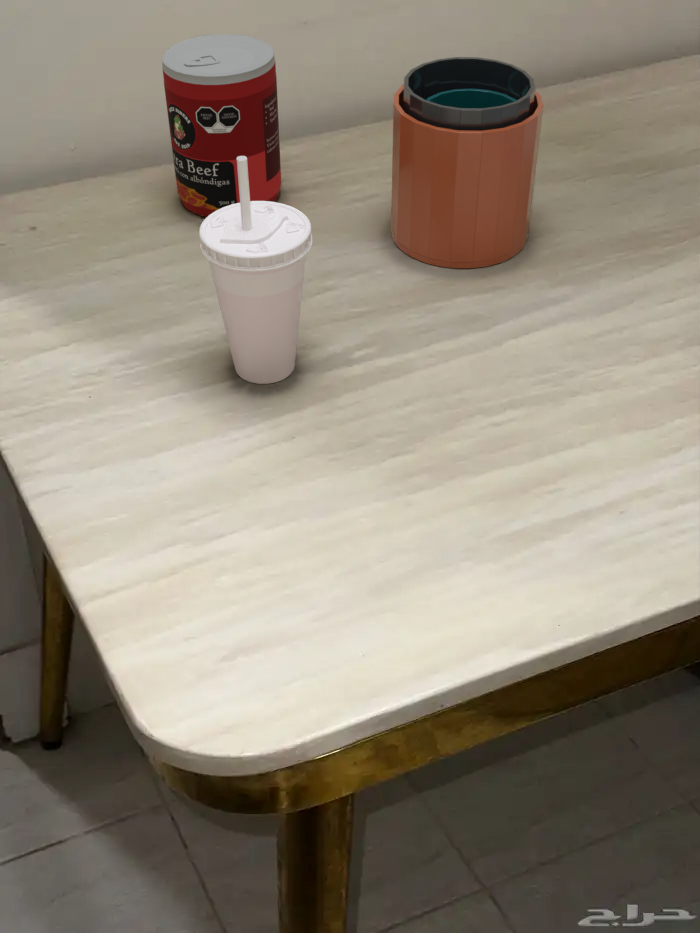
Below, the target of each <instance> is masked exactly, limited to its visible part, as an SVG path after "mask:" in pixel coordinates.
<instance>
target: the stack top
mask: <svg viewBox="0 0 700 933" xmlns="http://www.w3.org/2000/svg"><path fill="white" fill-rule="evenodd" d="M403 84H404V98H403V110H404V112H405V113H406V114H408V115H410V116H411V117H413V118H415V119H416V120H418V121H420V122H423V123H426V124H429V125H433V126H436V127H441V128H447V129H453V130H470V131H483V130H491V129H499V128H505V127H508V126H511V125H514V124H517V123H520V122H522V121H524V120H525V119H527V118H528V117H530V116H532V113H533V104H534V94H535V90H536V85H535V80H534V78H533V77H532V76H531V75H530V74H529V73H528V72H527V71H526V70H524V69H523V68H520V67H518V66H516V65H514V64H512V63H508V62H505V61H501V60H497V59H493V58H484V57H476V56H454V57H445V58H438V59H434V60H431V61H426V62H423V63H421V64H419V65H417V66H415V67H413V68H411V69H410V70H409V71H408V72H407V73H406V75H405V76H404V77H403ZM454 89H483V90H491V91H495V92H499V93H503V94H506V95H508V96H510V97H512V98H514V99H516V100H517V101H515V102H512V103H509V104H505V105H502V106H497V107H489V108H456V107H450V106H443V105H439V104H436V103H433V102H430V101H427V100H426V99H427V98H428V97H431V96H433V95H435V94H437V93H440V92H444V91H449V90H454Z"/></svg>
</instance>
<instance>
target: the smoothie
mask: <svg viewBox="0 0 700 933" xmlns="http://www.w3.org/2000/svg"><path fill="white" fill-rule="evenodd" d="M237 170H238V182H239V195H240V203H236V204H231V205H228V206H225V207H223V208H221V209H218V210H216V211H215V212H213V213H212V214H210V215H209V216H208V217H205V219H203V221H202V222H201V224H200V226H199V232H198V233H199V248H200V251H201V253H202V255H203V256H204V257H205V258H206V259H207V260H208V263H209V266H210V267H209V268H210V272H211V276H212V279H213V280H212V281H213V284H214V288H215V293H216V297H217V301H218V304H219V309H220V313H221V316H222V321H223V325H224V329H225V333H226V336H227V340H228V345H229V349H230V353H231V358H232V361H233V366H234V370H235V372H236V374H237V375H238V376H239V377H240V378H241V379H242V380H244V381H246V382H249V383H251V384H258V385H267V384H268V385H269V384H273V383H278V382H280V381H283V380H285V379H286V378H288V377H289V376H290V375H292V373H293V372H294V370H295V368H296V357H297V356H296V355H297V347H298V346H297V345H298V336H299V327H300V316H301V306H302V296H303V287H304V277H305V276H304V275H305V271H306V270H305V269H306V256H307V254H308V253H309V252H310V251H311V248H312V246H313V234H312V225H311V221H310V219H309V218H308V217H307V215H306V214H304V212H302V211H300V210H299V209H297V208H296V207H293V206H292V205H288V204H286V203H282V202H277V201H275V202H271V201H250V192H249V179H248V165H247V157H246V156H239V157H237Z"/></svg>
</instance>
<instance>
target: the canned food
mask: <svg viewBox="0 0 700 933" xmlns="http://www.w3.org/2000/svg"><path fill="white" fill-rule="evenodd" d="M161 59H162V60H161V61H162V64H161V67H162V76H163V86H164V94H165V95H164V96H165V102H166V103H165V104H166V112H167V118H168V127H169V136H170V142H171V144H170V145H171V152H172V159H173V168H174V174H175V175H174V176H175V184H176V191H177V194H178V196H179V199H180V201H181V203H182V204H183V206H184V208H186V209H187V210H189V211H190V212H192V213H194V214H195V215H199V216H202V217H205V218H207V217H208V216H209V215H210V214H212V213H213V212H215V211H216V210H218V209H221V208H223V207H225V206H228V205H231V204H236V203H240V195H239V182H238V170H237V157H239V156H246V157H247V165H248V179H249V192H250V201H271V202H277V199H278V197H279V195H280V191H281V186H282V168H281V149H280V148H281V146H280V125H279V103H278V102H279V101H278V83H277V82H278V81H277V80H278V79H277V67H276V66H277V65H276V64H277V63H276V58H275V52H274V48H273V47H272V45H271V44H269V43H267V41H264V40H262V39H260V38H256V37H252V36H249V35H242V34H231V33H219V34H217V33H216V34H207V35H200V36H195V37H191V38H188V39H185V40H182V41H179V42H178V43H175V44H173V45H172V46H169V47H168V48H167V49H166V50H165V51H164V52H163V55H162V56H161Z"/></svg>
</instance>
